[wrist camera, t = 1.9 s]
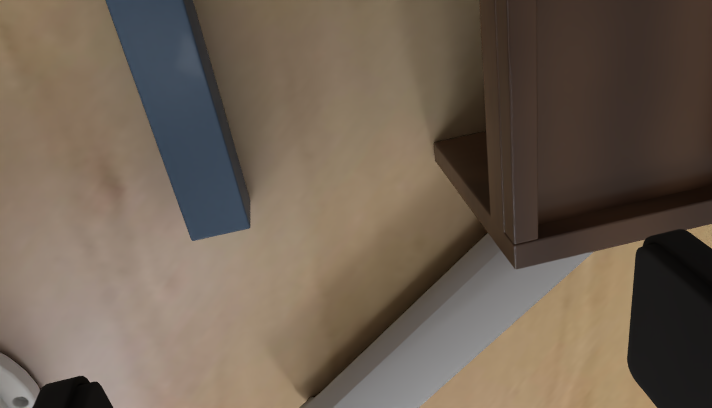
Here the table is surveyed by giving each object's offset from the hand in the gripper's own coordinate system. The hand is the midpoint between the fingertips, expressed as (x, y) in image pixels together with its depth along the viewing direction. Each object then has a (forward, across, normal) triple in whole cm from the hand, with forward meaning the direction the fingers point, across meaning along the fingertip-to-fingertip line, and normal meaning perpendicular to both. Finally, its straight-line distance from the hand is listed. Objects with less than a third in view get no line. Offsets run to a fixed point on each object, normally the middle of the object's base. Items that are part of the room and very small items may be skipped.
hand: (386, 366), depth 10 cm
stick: (+21, +6, -4) cm, 22 cm away
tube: (+21, -6, +16) cm, 27 cm away
